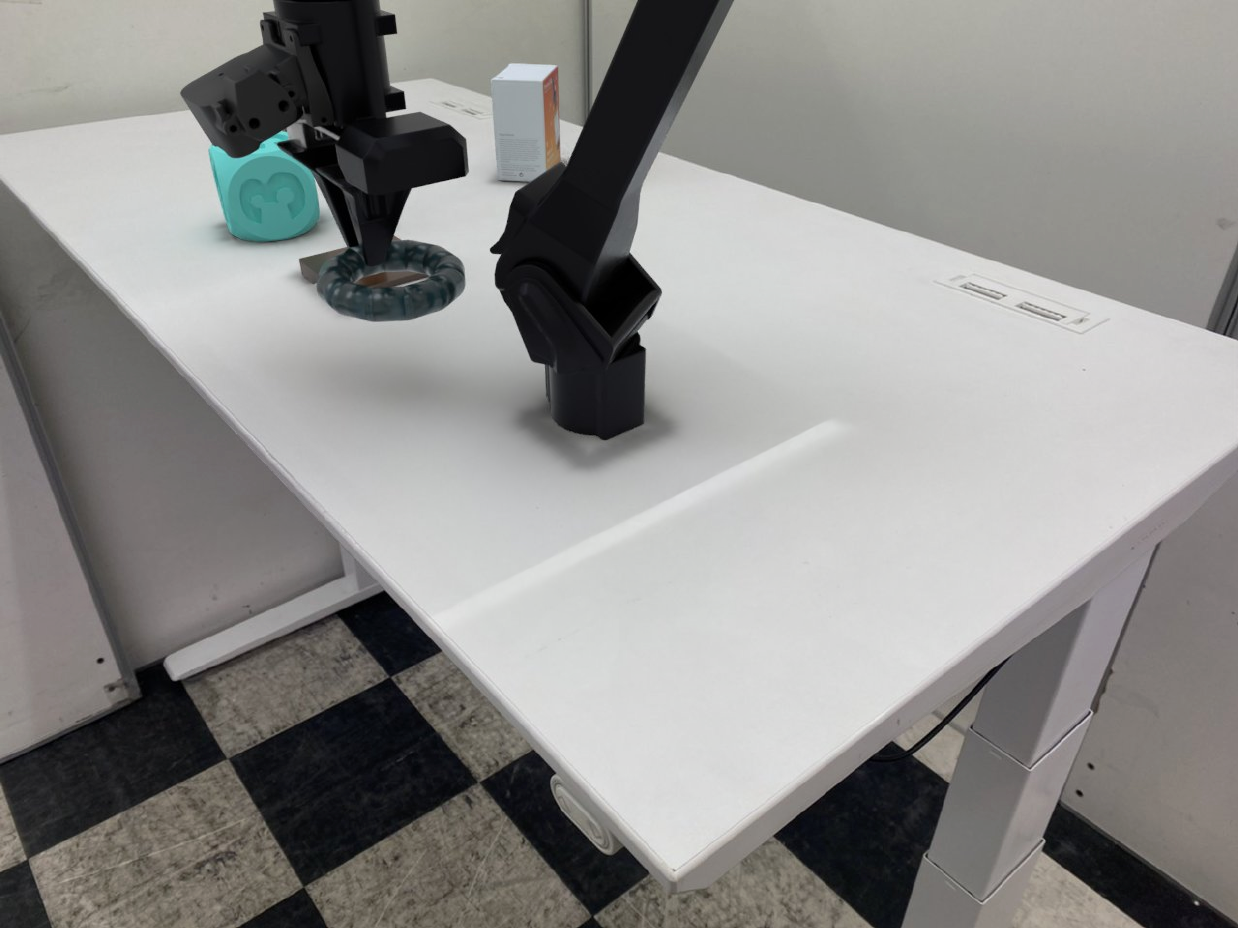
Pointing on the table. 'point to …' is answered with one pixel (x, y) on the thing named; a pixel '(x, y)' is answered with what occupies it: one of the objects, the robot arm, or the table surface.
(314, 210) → the decorative dice
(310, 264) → the stand
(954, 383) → the table surface
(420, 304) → the ring
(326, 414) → the table surface
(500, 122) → the small box
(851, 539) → the table surface
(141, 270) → the table surface
